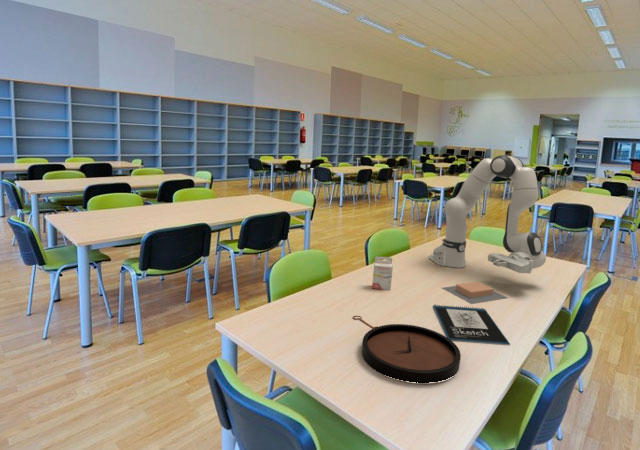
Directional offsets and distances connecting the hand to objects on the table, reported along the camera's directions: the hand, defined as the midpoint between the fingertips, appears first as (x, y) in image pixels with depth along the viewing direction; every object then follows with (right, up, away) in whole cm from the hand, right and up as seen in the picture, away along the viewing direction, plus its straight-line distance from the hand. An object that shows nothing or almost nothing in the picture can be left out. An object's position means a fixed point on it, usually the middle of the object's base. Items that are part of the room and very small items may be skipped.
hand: (495, 263), depth 195 cm
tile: (-5, -12, +1) cm, 13 cm away
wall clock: (-53, -25, -58) cm, 83 cm away
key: (-64, -20, -36) cm, 76 cm away
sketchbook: (-25, -21, -33) cm, 46 cm away
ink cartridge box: (-54, -12, +1) cm, 55 cm away
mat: (-11, -14, -2) cm, 18 cm away
